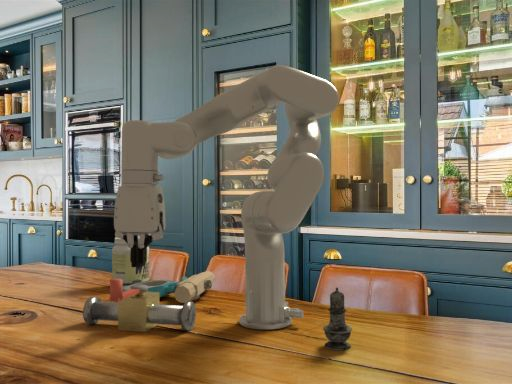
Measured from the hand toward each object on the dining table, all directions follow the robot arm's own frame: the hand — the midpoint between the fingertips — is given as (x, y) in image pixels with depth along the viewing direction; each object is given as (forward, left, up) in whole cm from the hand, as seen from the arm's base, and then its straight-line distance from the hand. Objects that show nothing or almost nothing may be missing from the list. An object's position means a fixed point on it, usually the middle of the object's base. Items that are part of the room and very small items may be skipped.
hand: (138, 266), depth 97 cm
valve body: (+6, -10, -16) cm, 20 cm away
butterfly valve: (+13, -39, -17) cm, 45 cm away
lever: (+6, -6, -8) cm, 11 cm away
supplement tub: (+30, -50, -16) cm, 61 cm away
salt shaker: (-41, -6, -16) cm, 45 cm away
